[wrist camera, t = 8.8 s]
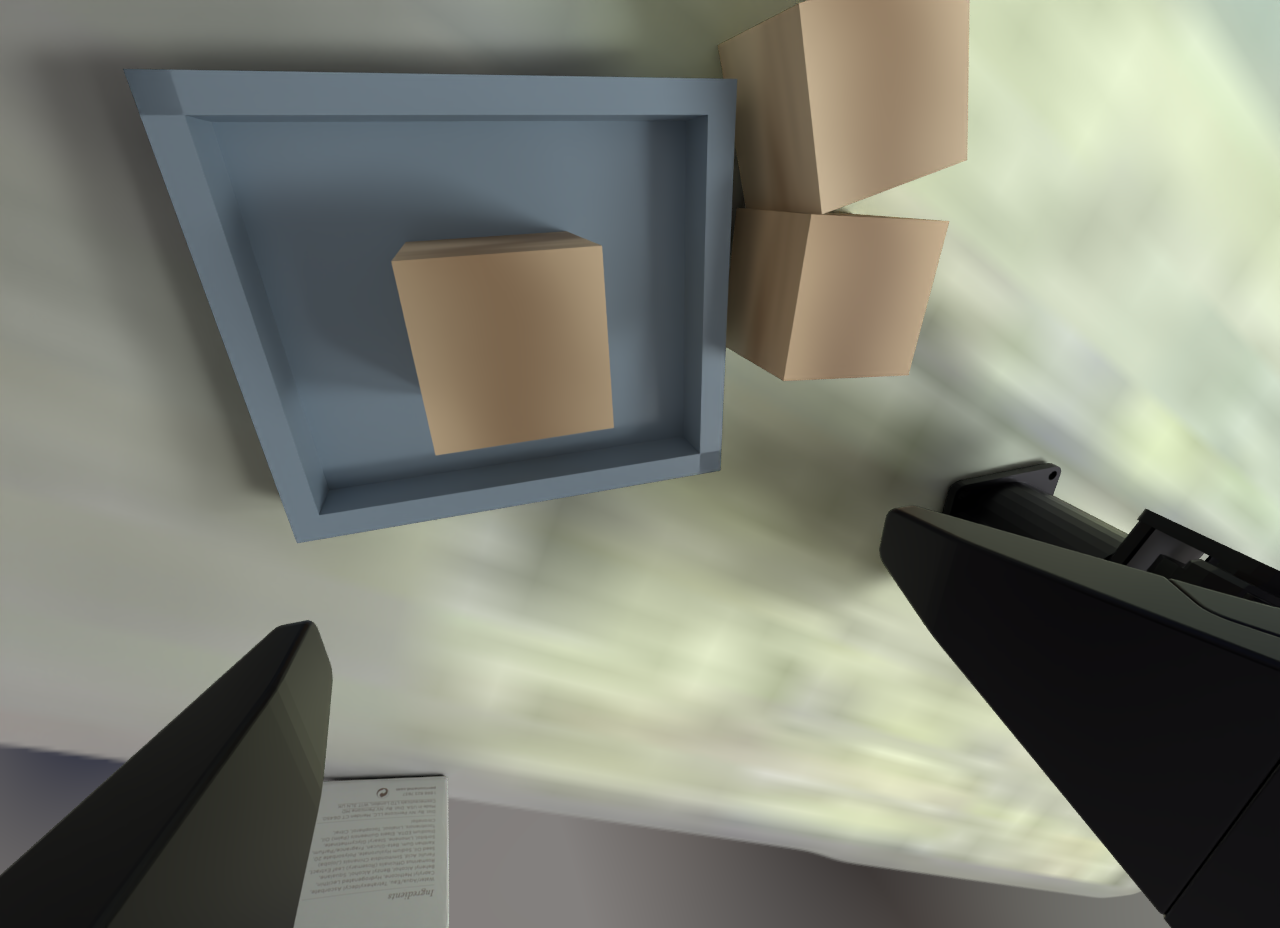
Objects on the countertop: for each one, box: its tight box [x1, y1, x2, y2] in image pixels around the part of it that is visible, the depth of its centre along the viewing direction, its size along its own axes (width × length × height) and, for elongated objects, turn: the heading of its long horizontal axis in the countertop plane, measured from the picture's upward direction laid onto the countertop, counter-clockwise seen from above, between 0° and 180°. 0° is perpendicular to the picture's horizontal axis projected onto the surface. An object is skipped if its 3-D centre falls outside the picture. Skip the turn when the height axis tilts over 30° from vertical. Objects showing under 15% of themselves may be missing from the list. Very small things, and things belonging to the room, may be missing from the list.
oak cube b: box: [726, 208, 949, 381], centre depth 18 cm, size 4×4×4 cm
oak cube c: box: [718, 0, 969, 214], centre depth 16 cm, size 4×4×4 cm
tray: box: [123, 69, 737, 543], centre depth 17 cm, size 14×12×2 cm
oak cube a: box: [391, 231, 614, 455], centre depth 15 cm, size 4×4×4 cm
